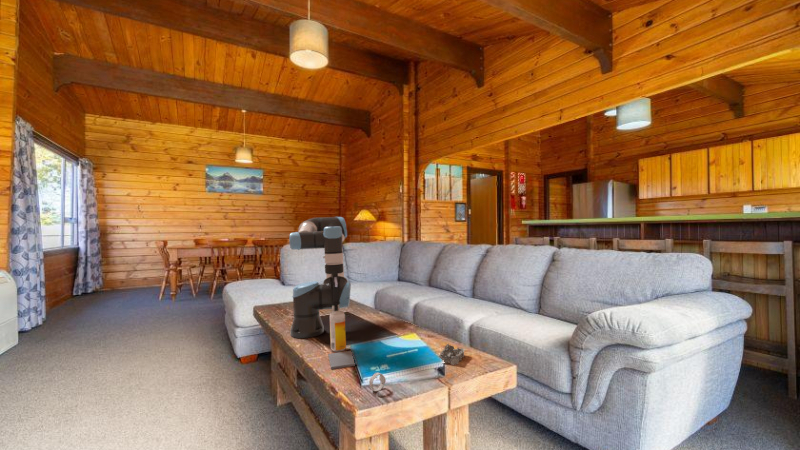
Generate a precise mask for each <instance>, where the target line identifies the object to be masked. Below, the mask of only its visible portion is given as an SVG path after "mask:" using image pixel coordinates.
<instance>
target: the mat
mask: <svg viewBox="0 0 800 450" xmlns="http://www.w3.org/2000/svg"><path fill="white" fill-rule="evenodd" d="M351 351H352V350H348V351H347V350H346V351H340V352H332V353H327V355H328V356H327V358H328V361H329V366H330V369H331V370H336V369H343V368H349V367H356V366H355V363H354V359H353V356H354V355H353V356H352V353H353V351H352V352H351Z"/></svg>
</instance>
